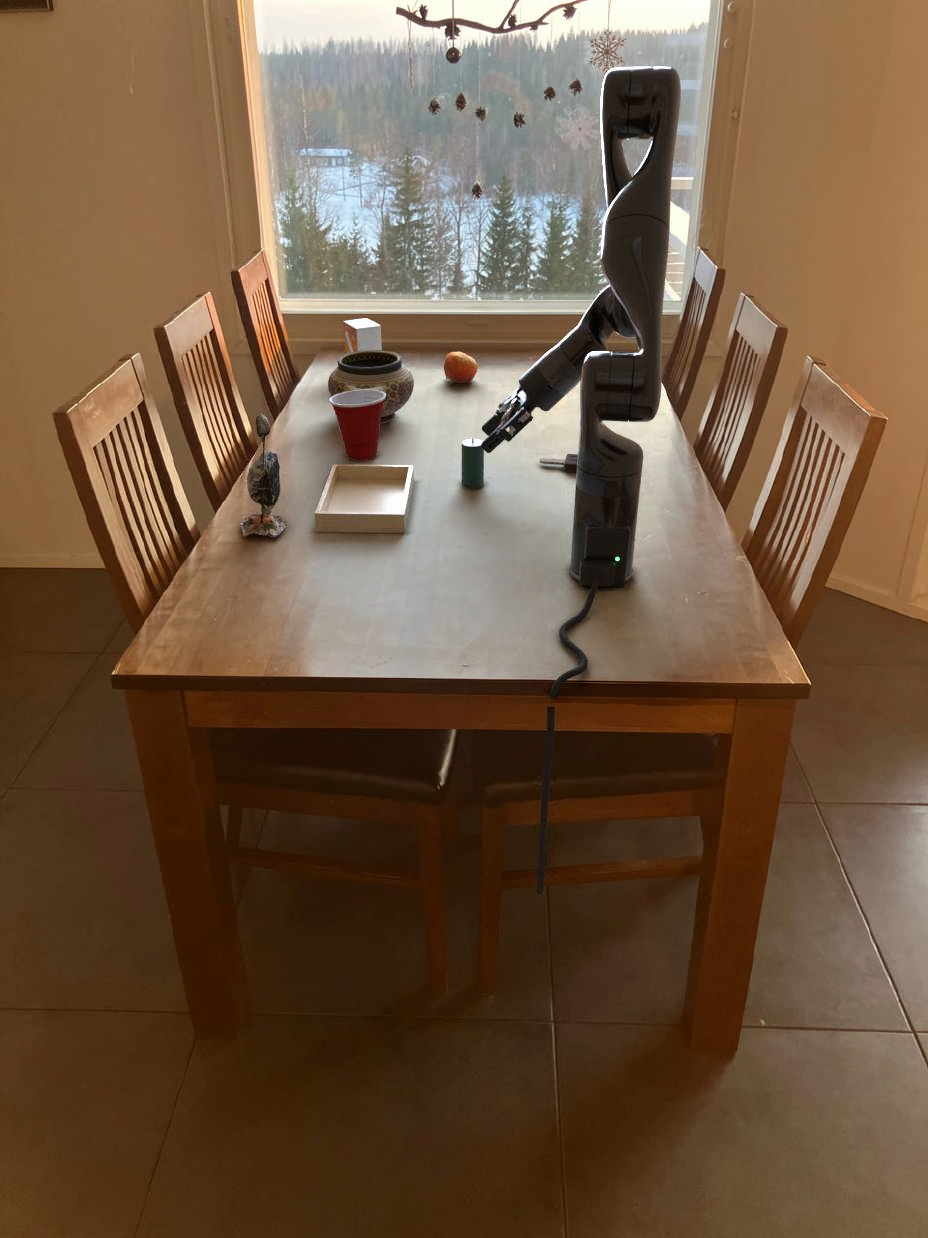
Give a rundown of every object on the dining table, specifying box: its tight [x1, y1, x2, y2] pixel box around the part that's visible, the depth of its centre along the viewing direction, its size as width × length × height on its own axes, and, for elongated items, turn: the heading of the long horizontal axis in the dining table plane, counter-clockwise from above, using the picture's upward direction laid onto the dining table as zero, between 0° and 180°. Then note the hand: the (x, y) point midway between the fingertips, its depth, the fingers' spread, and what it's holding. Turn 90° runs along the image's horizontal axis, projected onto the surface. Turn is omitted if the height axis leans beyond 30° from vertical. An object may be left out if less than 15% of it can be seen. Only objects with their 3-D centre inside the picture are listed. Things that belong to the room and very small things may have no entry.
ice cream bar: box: [539, 453, 578, 473], centre depth 185 cm, size 5×2×15 cm
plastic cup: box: [328, 389, 386, 461], centre depth 188 cm, size 11×11×12 cm
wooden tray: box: [314, 463, 415, 534], centre depth 169 cm, size 22×15×3 cm
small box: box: [343, 317, 383, 354], centre depth 231 cm, size 8×6×13 cm
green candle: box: [461, 437, 485, 490], centre depth 176 cm, size 4×4×9 cm
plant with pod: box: [239, 413, 288, 538], centre depth 157 cm, size 8×11×20 cm
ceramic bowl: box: [327, 349, 415, 425], centre depth 206 cm, size 24×18×15 cm
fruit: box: [443, 351, 479, 386], centre depth 231 cm, size 8×8×8 cm
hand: (484, 440), depth 174 cm, fingers open, 8 cm apart
